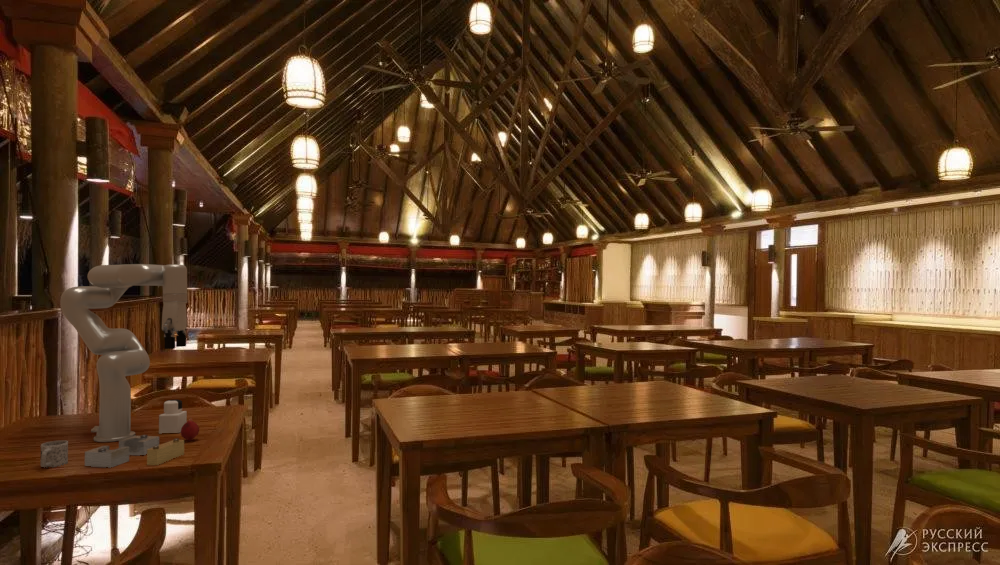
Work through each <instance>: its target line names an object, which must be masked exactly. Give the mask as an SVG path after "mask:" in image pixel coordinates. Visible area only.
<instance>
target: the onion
mask: <svg viewBox="0 0 1000 565" xmlns="http://www.w3.org/2000/svg"><path fill="white" fill-rule="evenodd" d="M193 420H194V419H193V418H189V419H187V422H186V423H185V424H184V425H183V426H182V428H181V432H180V435H181V437H182V438H183V440H186V441H188V442H191V441H193V440H194V439H195V438H196V437H197V436H198V435H199V433H200V426H199V425H198V424H197V422H195V421H193Z"/></svg>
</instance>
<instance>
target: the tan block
mask: <svg viewBox="0 0 1000 565" xmlns="http://www.w3.org/2000/svg"><path fill="white" fill-rule="evenodd" d="M181 455H182V456H184V455H185V439H180V438H173V439H172V440H169V441H167V442H163V443H161V444H159V445H158V446H153V448H150V449H147V455H146V466H156V465H157V466H160V465H162V464H164V462H165V463H167V462H169V460H170V461H172V460H174V459H173V458H175V459H177V458H180V457H181ZM179 456H180V457H179ZM176 457H177V458H176ZM171 459H172V460H171ZM166 461H167V462H166ZM159 464H160V465H159Z"/></svg>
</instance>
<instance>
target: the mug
mask: <svg viewBox="0 0 1000 565" xmlns="http://www.w3.org/2000/svg"><path fill="white" fill-rule="evenodd" d="M68 460H69V440H61V439H60V440H53V441H47V442H43V443H41V444H40V466H41V467H44V468H43V469H48V467H52V468H57V466H58V467H62V466H65V465H67V464H69V463H68V462H69V461H68ZM64 464H65V465H64ZM61 465H62V466H61ZM41 467H40V468H41ZM45 467H46V468H45Z"/></svg>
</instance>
